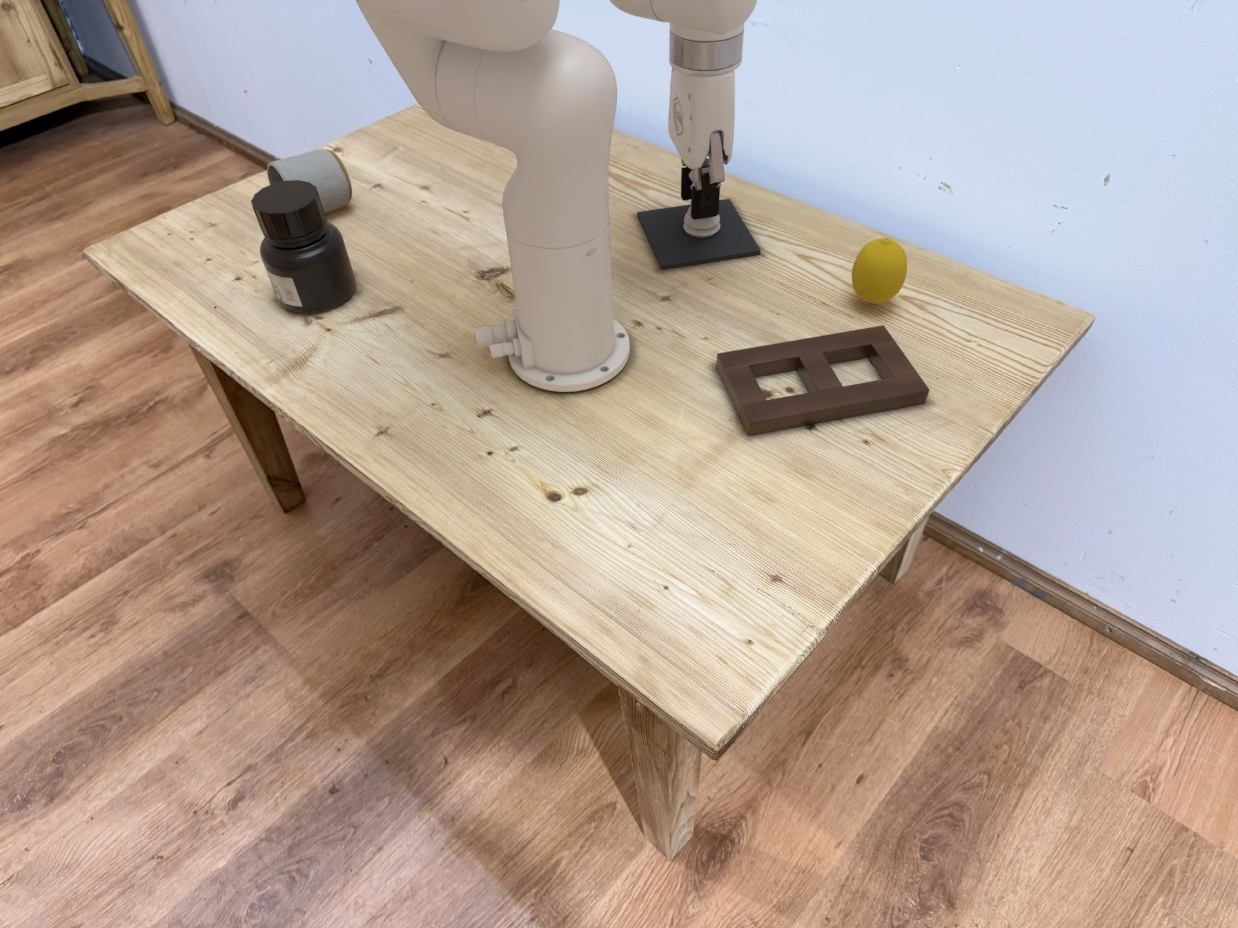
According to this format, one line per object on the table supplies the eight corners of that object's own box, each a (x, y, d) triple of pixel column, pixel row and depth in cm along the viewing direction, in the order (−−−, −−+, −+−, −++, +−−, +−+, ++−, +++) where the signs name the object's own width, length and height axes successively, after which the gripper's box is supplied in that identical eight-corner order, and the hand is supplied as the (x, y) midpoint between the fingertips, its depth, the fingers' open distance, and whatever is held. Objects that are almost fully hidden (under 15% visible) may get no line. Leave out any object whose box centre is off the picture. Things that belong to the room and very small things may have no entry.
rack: (925, 403, 82) (929, 389, 80) (747, 436, 79) (749, 422, 78) (880, 338, 88) (883, 324, 87) (715, 366, 86) (716, 353, 85)
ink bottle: (276, 276, 99) (240, 181, 91) (352, 261, 101) (324, 167, 92) (280, 324, 93) (241, 228, 84) (361, 308, 95) (331, 211, 86)
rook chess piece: (678, 236, 102) (678, 173, 96) (689, 217, 104) (690, 155, 99) (714, 242, 100) (716, 179, 94) (724, 223, 103) (727, 160, 97)
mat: (661, 270, 98) (661, 265, 98) (637, 216, 106) (637, 212, 106) (760, 254, 100) (760, 250, 99) (729, 202, 108) (729, 198, 107)
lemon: (898, 321, 90) (915, 256, 85) (845, 315, 91) (858, 251, 85) (897, 290, 94) (914, 226, 88) (846, 285, 95) (859, 222, 89)
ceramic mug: (362, 210, 109) (346, 153, 103) (304, 234, 105) (283, 176, 100) (323, 181, 114) (306, 126, 109) (267, 203, 111) (246, 147, 105)
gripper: (650, 21, 92) (651, 177, 105) (692, 85, 81) (687, 250, 94) (717, 13, 93) (709, 169, 106) (768, 75, 82) (752, 240, 95)
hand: (699, 206), depth 100 cm, fingers open, 3 cm apart
